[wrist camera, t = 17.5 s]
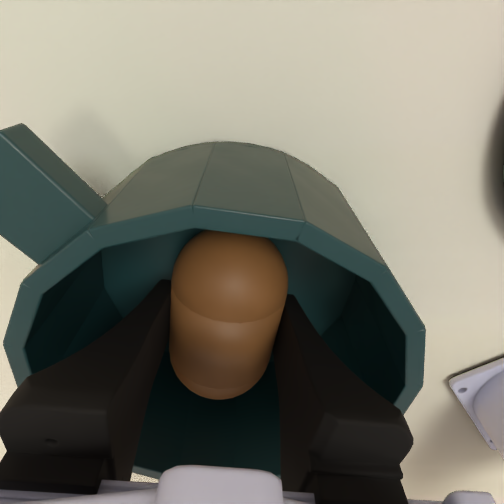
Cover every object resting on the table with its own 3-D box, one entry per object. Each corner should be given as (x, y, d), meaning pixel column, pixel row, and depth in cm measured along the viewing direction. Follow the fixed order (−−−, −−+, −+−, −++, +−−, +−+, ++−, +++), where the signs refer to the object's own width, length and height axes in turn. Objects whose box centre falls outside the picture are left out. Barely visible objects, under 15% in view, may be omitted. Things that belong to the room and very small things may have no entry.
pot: (212, -14, 11) (171, -83, 5) (426, 328, 18) (501, 448, 13) (-19, 210, 15) (-183, 311, 9) (238, 412, 23) (234, 531, 17)
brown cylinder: (260, 345, 18) (263, 426, 15) (177, 337, 18) (157, 417, 14) (292, 212, 14) (309, 276, 10) (184, 197, 14) (159, 258, 10)
